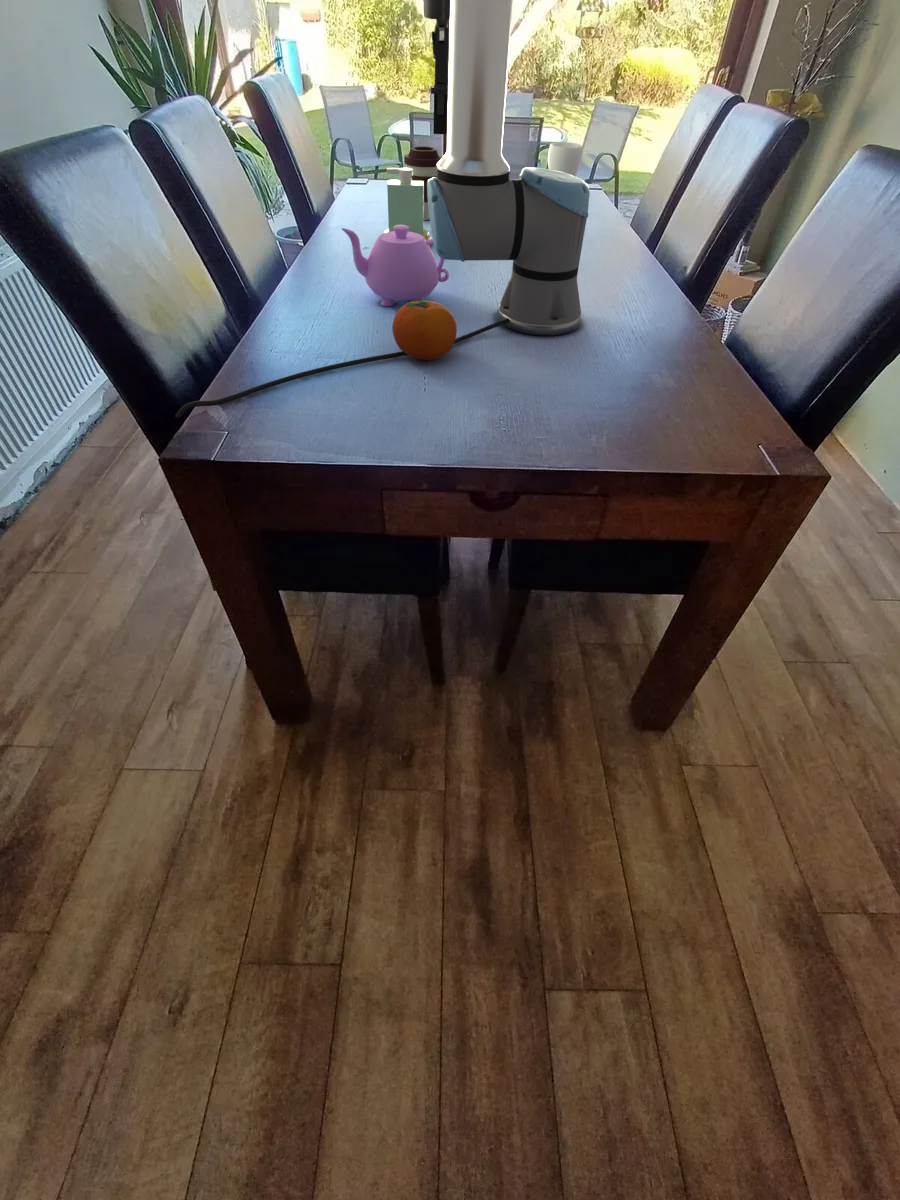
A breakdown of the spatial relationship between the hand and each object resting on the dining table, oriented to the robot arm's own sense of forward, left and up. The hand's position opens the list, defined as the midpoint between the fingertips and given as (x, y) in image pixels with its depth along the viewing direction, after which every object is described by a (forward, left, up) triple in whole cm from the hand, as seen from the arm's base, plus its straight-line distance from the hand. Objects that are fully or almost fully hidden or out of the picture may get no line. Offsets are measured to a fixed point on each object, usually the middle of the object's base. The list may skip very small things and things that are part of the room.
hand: (440, 128), depth 135 cm
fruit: (-57, -30, -22) cm, 68 cm away
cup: (+41, -14, -22) cm, 49 cm away
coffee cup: (+18, +15, -22) cm, 33 cm away
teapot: (-37, -12, -22) cm, 45 cm away
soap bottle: (-5, +6, -21) cm, 22 cm away
